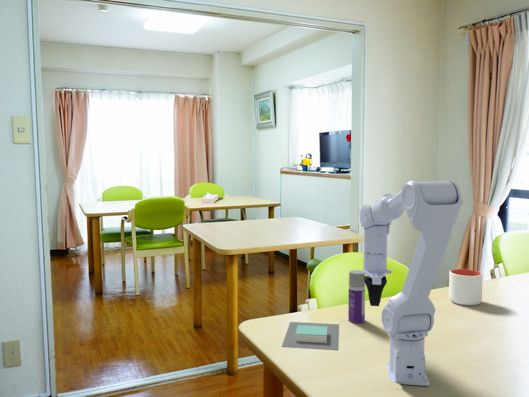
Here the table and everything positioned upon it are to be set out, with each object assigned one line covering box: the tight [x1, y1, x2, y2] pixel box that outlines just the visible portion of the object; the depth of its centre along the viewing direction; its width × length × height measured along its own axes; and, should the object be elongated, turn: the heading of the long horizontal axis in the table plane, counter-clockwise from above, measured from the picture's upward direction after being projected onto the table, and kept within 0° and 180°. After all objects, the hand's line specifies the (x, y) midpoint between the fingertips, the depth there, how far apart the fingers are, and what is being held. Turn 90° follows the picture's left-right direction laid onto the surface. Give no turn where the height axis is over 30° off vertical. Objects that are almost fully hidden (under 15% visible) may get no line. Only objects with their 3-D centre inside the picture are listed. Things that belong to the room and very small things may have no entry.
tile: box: [295, 325, 327, 343], centre depth 120 cm, size 2×8×6 cm
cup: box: [448, 268, 483, 307], centre depth 151 cm, size 10×10×10 cm
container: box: [347, 269, 366, 324], centre depth 132 cm, size 5×5×15 cm
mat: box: [281, 321, 340, 351], centre depth 122 cm, size 18×14×1 cm
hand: (374, 305), depth 115 cm, fingers closed
